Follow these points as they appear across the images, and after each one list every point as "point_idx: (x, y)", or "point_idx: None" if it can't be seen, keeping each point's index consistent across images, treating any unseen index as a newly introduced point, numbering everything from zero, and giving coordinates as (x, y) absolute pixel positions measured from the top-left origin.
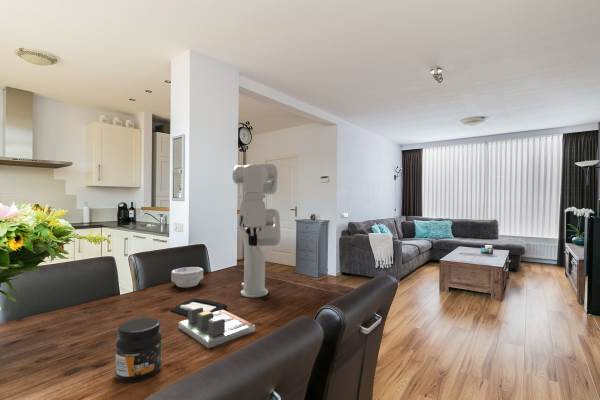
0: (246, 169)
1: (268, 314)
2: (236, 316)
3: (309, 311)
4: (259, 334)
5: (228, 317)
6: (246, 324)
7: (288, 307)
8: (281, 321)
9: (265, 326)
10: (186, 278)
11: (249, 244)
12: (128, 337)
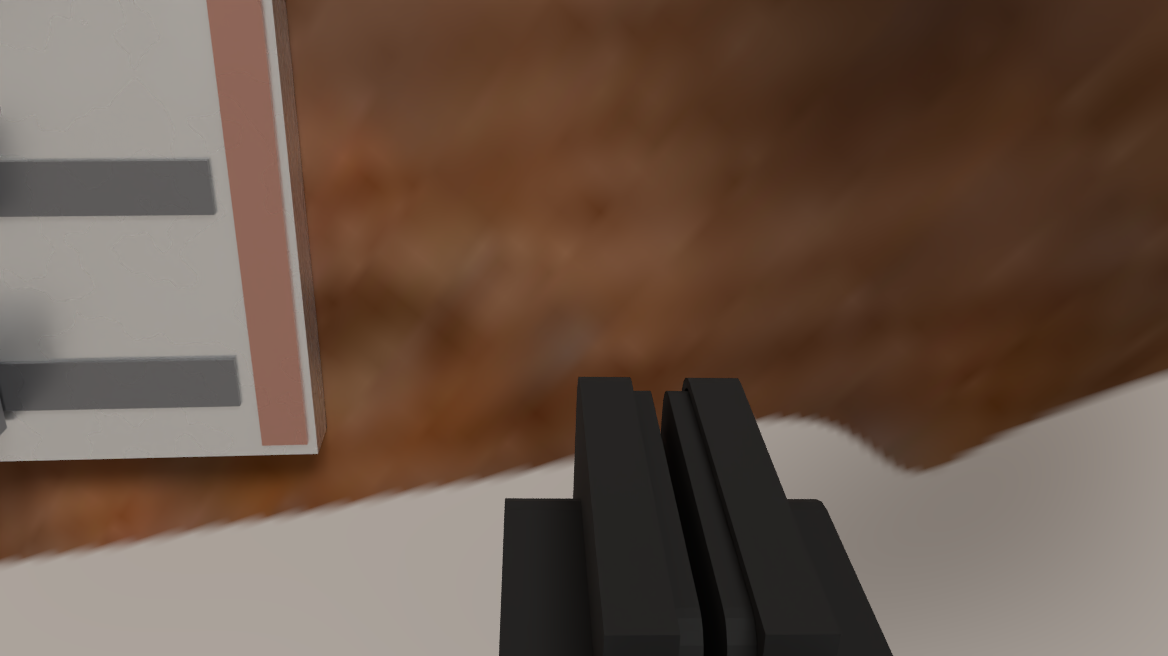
0: None
1: (667, 210)
2: (274, 180)
3: (996, 418)
4: (322, 494)
5: (197, 131)
6: (257, 403)
7: (960, 200)
8: None
9: (456, 410)
10: None
11: (580, 418)
12: None
